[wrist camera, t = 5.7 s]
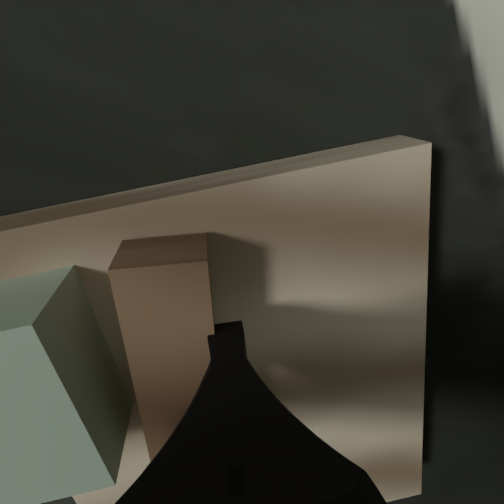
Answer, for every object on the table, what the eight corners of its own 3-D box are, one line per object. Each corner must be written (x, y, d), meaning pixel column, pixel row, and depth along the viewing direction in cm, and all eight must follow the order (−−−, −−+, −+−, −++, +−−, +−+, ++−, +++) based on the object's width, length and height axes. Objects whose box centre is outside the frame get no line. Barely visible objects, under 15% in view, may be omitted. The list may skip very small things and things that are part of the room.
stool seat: (401, 457, 21) (420, 493, 19) (124, 525, 20) (116, 568, 18) (400, 134, 13) (431, 142, 11) (-40, 224, 13) (-80, 247, 11)
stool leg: (234, 485, 16) (238, 535, 15) (169, 495, 16) (165, 547, 14) (211, 233, 11) (213, 260, 10) (117, 240, 11) (101, 270, 9)
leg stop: (133, 403, 14) (115, 485, 11) (37, 425, 14) (-5, 513, 11) (73, 264, 12) (31, 324, 9) (-44, 289, 11) (-126, 358, 9)
